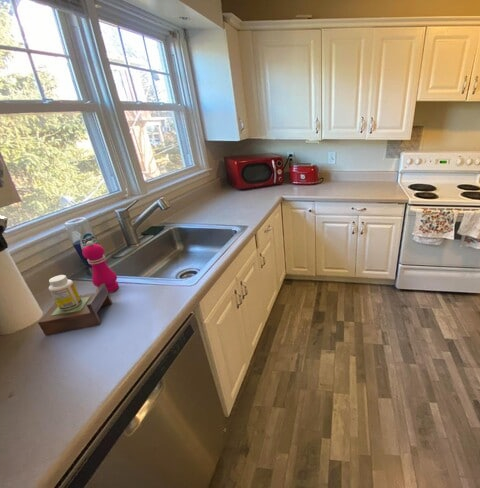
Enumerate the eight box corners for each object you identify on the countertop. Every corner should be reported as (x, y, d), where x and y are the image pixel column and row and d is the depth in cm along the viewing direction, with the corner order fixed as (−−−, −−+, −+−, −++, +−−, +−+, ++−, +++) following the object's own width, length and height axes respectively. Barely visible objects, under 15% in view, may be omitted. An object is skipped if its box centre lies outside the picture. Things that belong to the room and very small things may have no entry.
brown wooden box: (45, 335, 84) (32, 314, 80) (64, 311, 94) (54, 291, 91) (100, 324, 88) (90, 304, 84) (112, 302, 98) (104, 283, 95)
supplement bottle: (73, 298, 92) (60, 272, 87) (86, 301, 90) (73, 274, 86) (55, 309, 87) (40, 281, 82) (68, 312, 85) (53, 284, 81)
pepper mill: (109, 295, 102) (88, 246, 93) (92, 293, 103) (70, 245, 94) (125, 284, 108) (107, 237, 99) (109, 282, 109) (89, 236, 101)
